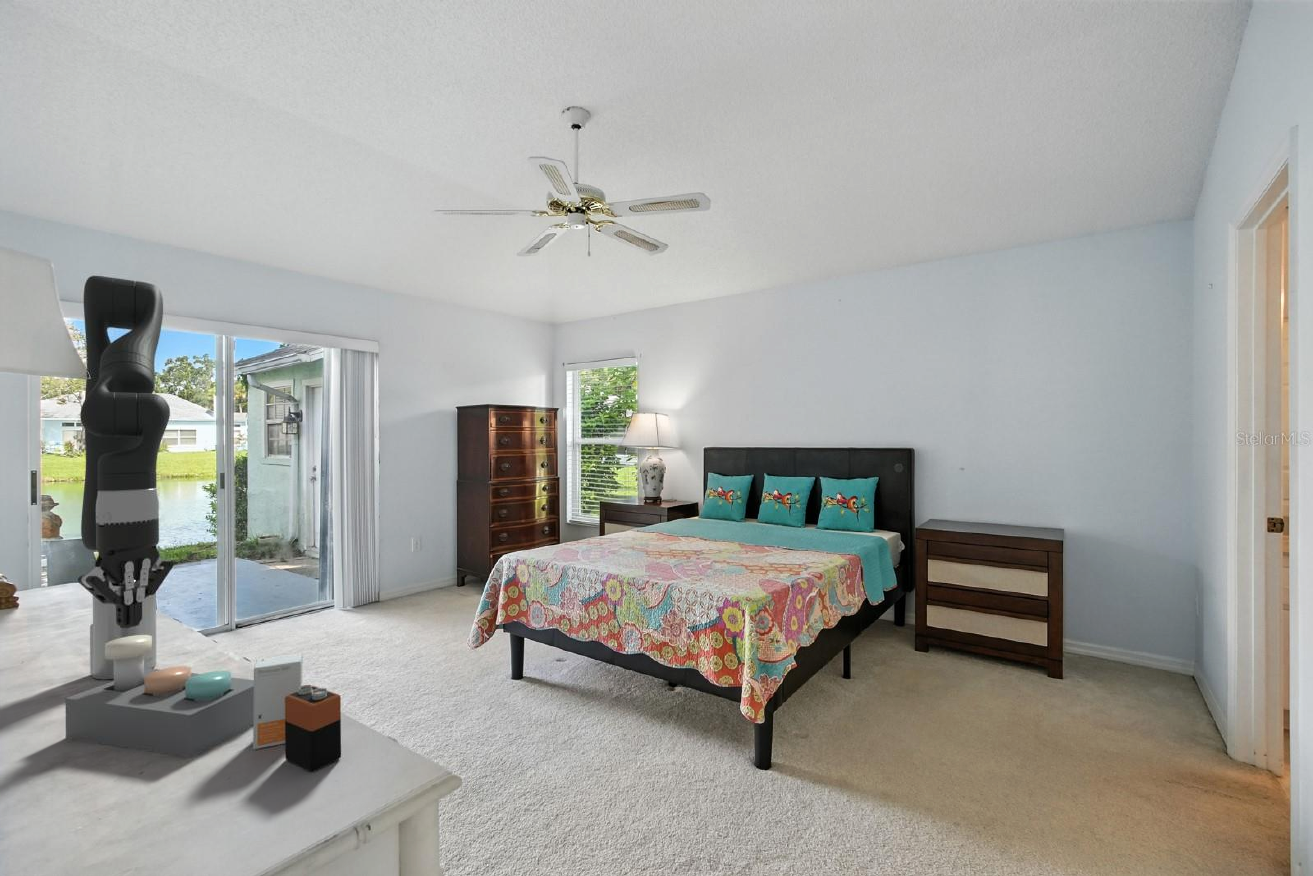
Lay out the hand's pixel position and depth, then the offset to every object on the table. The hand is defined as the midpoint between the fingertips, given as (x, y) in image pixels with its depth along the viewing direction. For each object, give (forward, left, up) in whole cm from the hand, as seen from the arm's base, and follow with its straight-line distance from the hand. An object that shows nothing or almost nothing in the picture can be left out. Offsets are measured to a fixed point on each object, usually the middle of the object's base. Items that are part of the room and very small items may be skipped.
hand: (129, 626), depth 95 cm
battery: (+37, -2, -16) cm, 40 cm away
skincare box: (+28, +1, -16) cm, 32 cm away
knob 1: (0, 0, -10) cm, 10 cm away
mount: (+8, 0, -15) cm, 17 cm away
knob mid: (+8, 0, -14) cm, 16 cm away
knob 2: (+16, 0, -14) cm, 21 cm away
